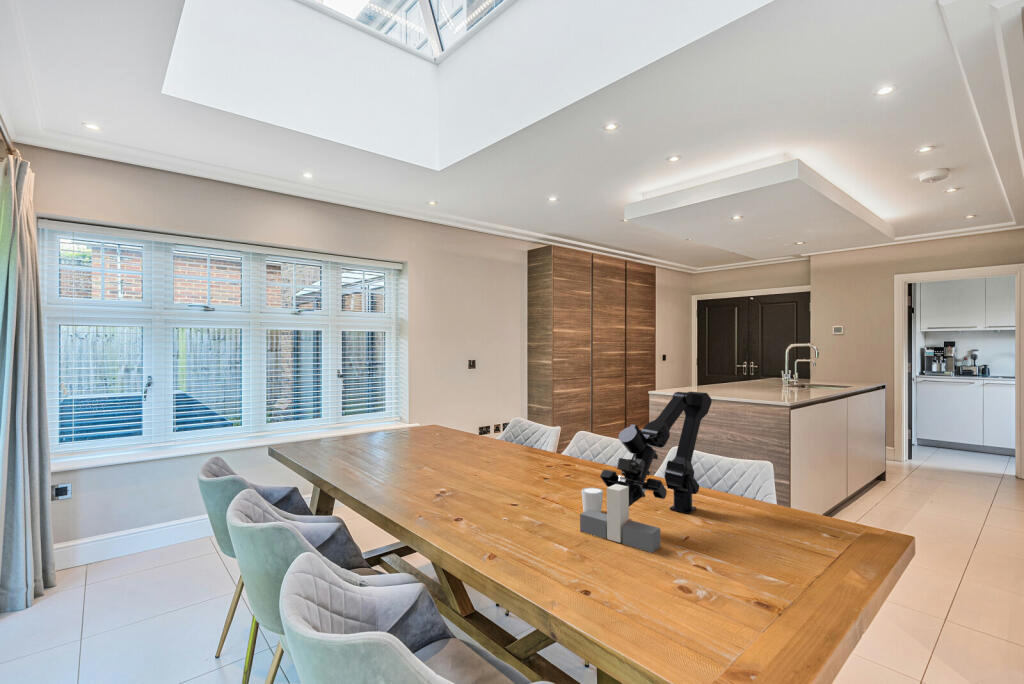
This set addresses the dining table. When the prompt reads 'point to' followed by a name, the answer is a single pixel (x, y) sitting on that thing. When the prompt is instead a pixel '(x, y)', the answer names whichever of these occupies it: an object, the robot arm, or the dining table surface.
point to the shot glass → (592, 499)
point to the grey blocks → (632, 531)
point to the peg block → (617, 511)
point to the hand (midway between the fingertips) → (622, 509)
